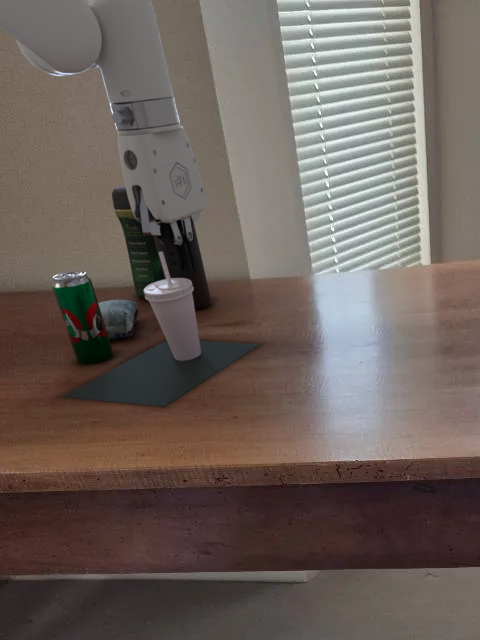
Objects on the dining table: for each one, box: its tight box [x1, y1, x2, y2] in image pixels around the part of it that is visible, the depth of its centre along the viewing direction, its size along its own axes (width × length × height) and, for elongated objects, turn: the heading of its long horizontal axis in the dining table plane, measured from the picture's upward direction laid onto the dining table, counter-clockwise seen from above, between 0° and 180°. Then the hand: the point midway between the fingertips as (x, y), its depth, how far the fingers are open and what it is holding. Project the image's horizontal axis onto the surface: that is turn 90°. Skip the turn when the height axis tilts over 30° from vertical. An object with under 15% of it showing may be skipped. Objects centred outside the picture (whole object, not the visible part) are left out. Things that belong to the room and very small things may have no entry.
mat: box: [62, 339, 260, 408], centre depth 98 cm, size 16×22×1 cm
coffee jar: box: [111, 184, 164, 299], centre depth 129 cm, size 10×8×19 cm
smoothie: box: [144, 252, 201, 361], centre depth 97 cm, size 6×6×14 cm
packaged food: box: [98, 298, 139, 341], centre depth 113 cm, size 9×12×5 cm
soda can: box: [51, 270, 115, 365], centre depth 101 cm, size 5×5×12 cm
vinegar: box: [154, 222, 212, 311], centre depth 119 cm, size 7×7×20 cm
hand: (185, 273), depth 98 cm, fingers closed
